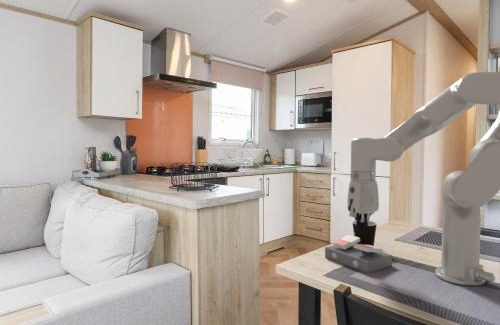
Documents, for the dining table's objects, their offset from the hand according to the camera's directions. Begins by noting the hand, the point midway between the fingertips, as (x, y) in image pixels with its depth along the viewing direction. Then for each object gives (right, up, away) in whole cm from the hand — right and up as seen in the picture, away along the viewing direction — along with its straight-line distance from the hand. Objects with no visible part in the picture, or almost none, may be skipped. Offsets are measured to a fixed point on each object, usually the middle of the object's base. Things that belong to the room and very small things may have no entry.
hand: (361, 233), depth 109 cm
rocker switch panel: (0, -11, +6) cm, 12 cm away
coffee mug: (+8, -10, +20) cm, 24 cm away
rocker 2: (+3, -6, +2) cm, 7 cm away
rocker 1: (-2, -6, +9) cm, 11 cm away
